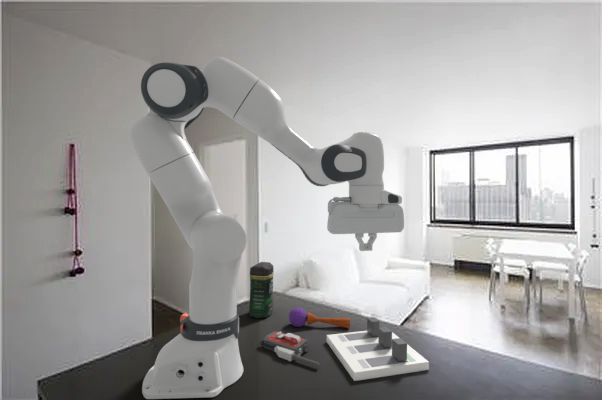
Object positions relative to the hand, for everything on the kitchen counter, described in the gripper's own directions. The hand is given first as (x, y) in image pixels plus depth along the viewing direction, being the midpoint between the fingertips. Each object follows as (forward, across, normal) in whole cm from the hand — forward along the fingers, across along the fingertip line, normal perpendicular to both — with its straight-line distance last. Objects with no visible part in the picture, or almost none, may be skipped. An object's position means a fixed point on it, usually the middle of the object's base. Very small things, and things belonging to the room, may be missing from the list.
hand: (365, 250), depth 81 cm
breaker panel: (+29, +4, +3) cm, 30 cm away
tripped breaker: (+27, +8, -4) cm, 28 cm away
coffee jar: (+29, -22, +39) cm, 54 cm away
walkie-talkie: (+30, -17, +9) cm, 35 cm away
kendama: (+30, -5, +24) cm, 38 cm away
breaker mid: (+27, +7, +3) cm, 28 cm away
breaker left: (+27, +8, +10) cm, 30 cm away
